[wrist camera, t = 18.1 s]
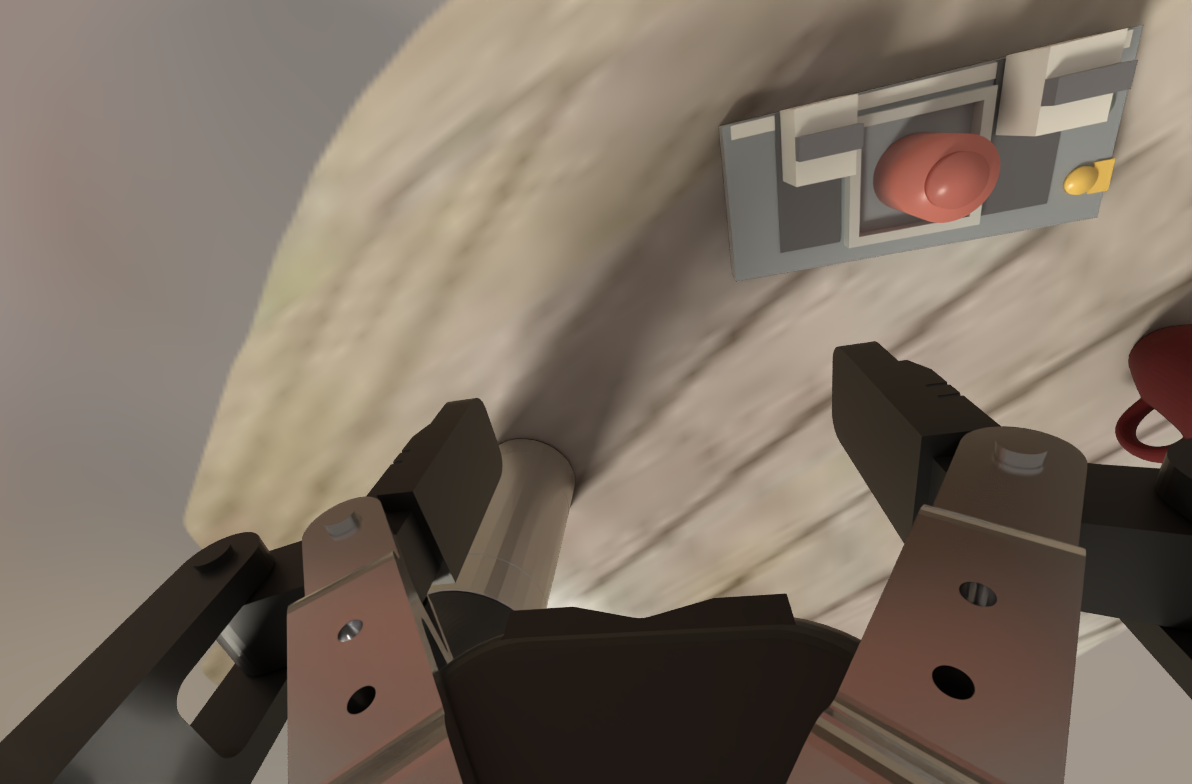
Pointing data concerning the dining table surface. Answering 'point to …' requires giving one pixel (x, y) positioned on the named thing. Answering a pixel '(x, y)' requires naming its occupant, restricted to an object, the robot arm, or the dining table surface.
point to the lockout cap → (937, 175)
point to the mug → (1159, 388)
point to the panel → (849, 204)
